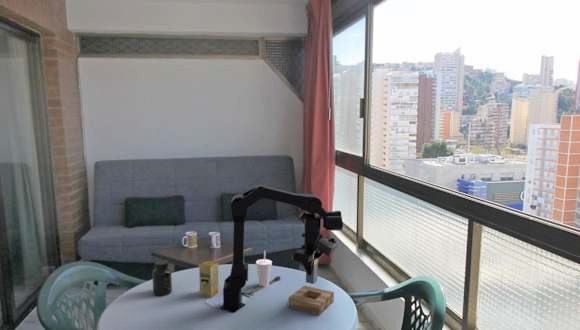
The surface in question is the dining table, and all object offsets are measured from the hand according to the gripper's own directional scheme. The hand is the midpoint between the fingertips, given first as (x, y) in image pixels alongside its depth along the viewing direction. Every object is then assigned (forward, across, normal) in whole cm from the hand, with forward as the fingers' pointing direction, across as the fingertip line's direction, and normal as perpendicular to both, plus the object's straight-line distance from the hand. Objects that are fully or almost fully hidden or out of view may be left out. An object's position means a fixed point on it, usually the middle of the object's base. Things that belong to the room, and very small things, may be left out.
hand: (311, 273), depth 146 cm
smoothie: (+12, +5, +24) cm, 27 cm away
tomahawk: (+12, +4, +22) cm, 25 cm away
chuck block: (+11, 0, 0) cm, 11 cm away
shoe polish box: (+12, -12, +37) cm, 41 cm away
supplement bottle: (+12, -20, +53) cm, 58 cm away
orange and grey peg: (+3, 0, 0) cm, 3 cm away
